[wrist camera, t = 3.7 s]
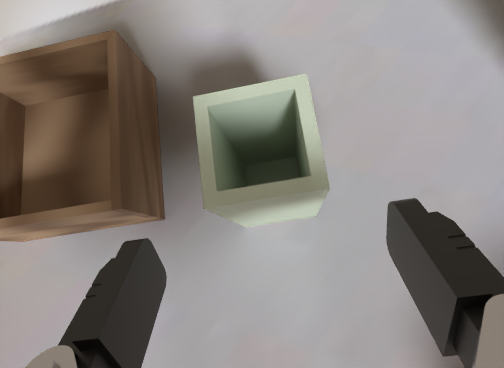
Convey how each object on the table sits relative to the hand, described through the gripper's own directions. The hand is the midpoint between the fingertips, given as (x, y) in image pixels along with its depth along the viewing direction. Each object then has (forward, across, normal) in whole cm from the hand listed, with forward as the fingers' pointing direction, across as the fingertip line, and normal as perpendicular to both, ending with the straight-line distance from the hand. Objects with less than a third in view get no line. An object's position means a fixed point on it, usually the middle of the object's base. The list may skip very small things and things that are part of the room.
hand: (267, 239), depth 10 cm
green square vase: (+11, 0, +5) cm, 12 cm away
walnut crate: (+14, +14, +2) cm, 20 cm away
